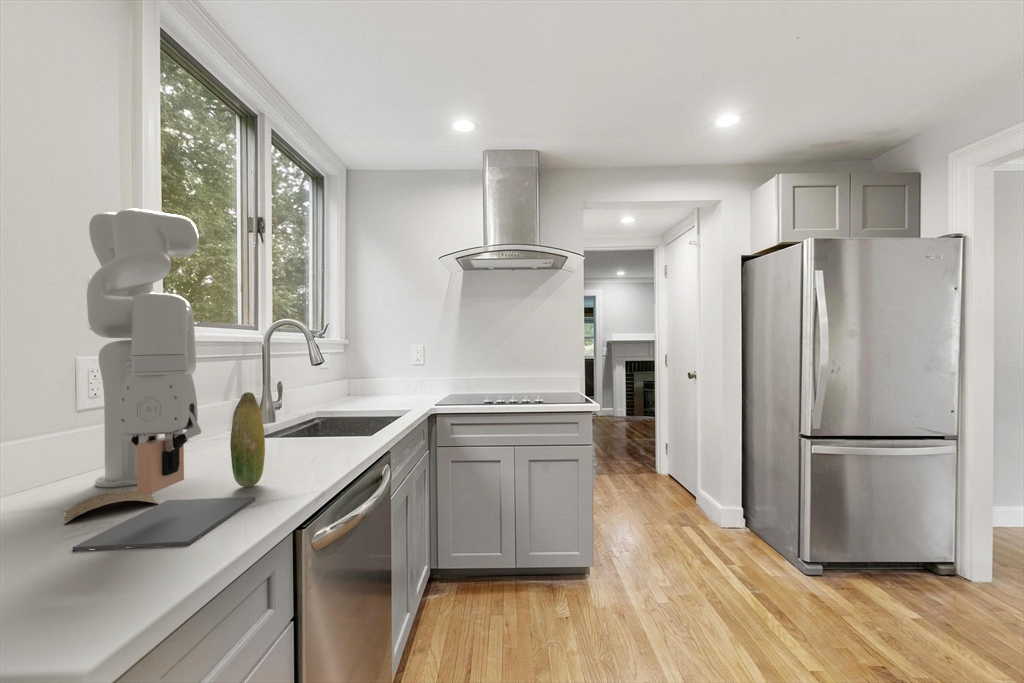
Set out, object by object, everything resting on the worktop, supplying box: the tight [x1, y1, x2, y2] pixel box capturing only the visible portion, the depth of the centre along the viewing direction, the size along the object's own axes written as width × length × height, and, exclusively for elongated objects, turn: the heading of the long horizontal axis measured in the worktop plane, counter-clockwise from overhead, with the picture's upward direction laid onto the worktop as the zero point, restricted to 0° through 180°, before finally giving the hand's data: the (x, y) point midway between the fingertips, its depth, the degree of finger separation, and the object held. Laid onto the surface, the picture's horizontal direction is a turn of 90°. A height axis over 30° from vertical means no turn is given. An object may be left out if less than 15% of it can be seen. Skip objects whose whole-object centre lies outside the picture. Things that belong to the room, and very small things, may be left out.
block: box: [136, 436, 185, 495], centre depth 76 cm, size 8×2×8 cm, turn 4°
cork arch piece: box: [63, 489, 159, 526], centre depth 83 cm, size 14×10×3 cm
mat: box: [71, 496, 256, 551], centre depth 76 cm, size 20×16×1 cm
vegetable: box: [229, 391, 266, 488], centre depth 94 cm, size 6×6×20 cm
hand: (161, 473), depth 76 cm, fingers closed on block, 2 cm apart
